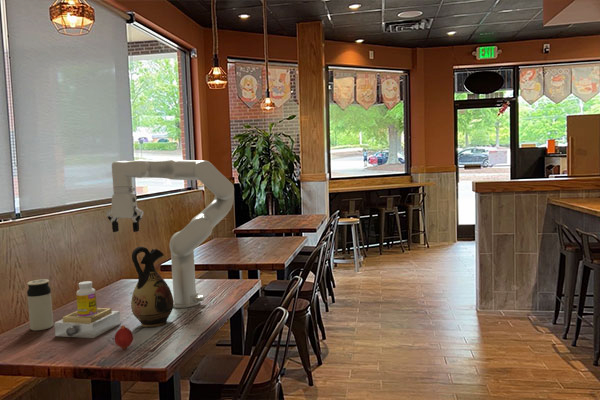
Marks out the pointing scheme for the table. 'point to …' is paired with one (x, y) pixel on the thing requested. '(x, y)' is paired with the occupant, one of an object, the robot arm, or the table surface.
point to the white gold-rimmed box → (87, 324)
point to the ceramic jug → (150, 291)
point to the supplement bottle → (86, 300)
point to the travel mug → (40, 305)
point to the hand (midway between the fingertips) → (125, 231)
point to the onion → (123, 337)
